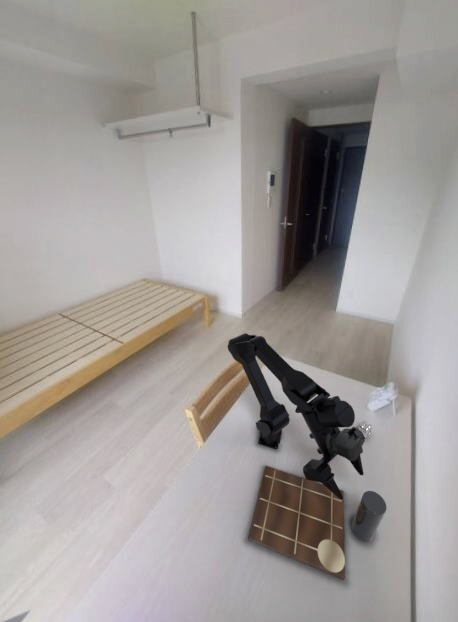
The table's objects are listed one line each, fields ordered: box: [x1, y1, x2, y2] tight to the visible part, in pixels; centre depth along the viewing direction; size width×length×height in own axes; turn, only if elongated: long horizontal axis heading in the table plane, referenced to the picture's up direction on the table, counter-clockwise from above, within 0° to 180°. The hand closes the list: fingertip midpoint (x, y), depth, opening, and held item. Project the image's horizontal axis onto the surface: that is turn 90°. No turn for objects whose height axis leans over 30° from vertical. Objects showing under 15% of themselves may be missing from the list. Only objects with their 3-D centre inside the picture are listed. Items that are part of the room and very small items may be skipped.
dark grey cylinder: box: [350, 490, 388, 543], centre depth 65 cm, size 5×5×13 cm
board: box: [248, 465, 346, 581], centre depth 71 cm, size 22×19×2 cm
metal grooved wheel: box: [357, 419, 373, 439], centre depth 91 cm, size 5×3×5 cm, turn 129°
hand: (351, 486), depth 66 cm, fingers open, 9 cm apart
